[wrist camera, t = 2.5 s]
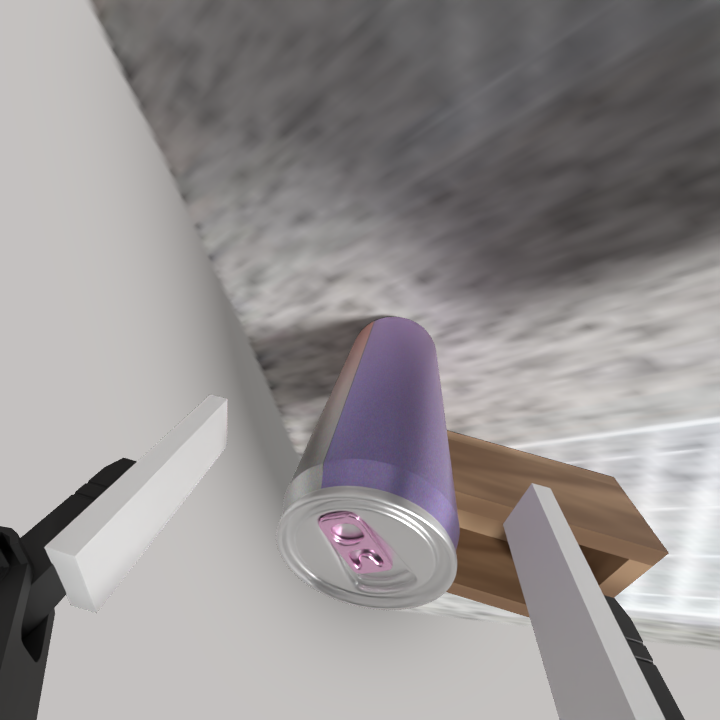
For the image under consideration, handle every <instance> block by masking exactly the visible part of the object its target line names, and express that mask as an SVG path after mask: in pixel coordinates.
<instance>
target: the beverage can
mask: <svg viewBox="0 0 720 720" xmlns="http://www.w3.org/2000/svg"><path fill="white" fill-rule="evenodd" d="M459 535H460V527H459V519H458V512H457V504H456V497H455V489H454V482H453V474H452V467H451V459H450V452H449V444H448V437H447V429H446V422H445V414H444V407H443V399H442V392H441V384H440V377H439V369H438V362H437V354H436V348H435V344H434V342H433V340H432V338H431V336H430V335H429V333H428V332H427V331H426V330H425V329H424V328H423V327H422V326H420V325H419V324H417V323H416V322H414V321H411V320H409V319H406V318H401V317H386V318H381V319H378V320H375V321H373V322H372V323H370V324H368V325H367V326H366V327H365V328H363V329H362V331H361V332H360V333H359V334H358V336H357V338H356V340H355V342H354V344H353V346H352V349H351V351H350V353H349V355H348V357H347V360H346V362H345V364H344V366H343V368H342V370H341V373H340V375H339V377H338V379H337V381H336V384H335V386H334V388H333V390H332V392H331V395H330V397H329V399H328V401H327V403H326V406H325V408H324V410H323V412H322V414H321V416H320V419H319V421H318V423H317V425H316V427H315V430H314V432H313V434H312V436H311V438H310V441H309V443H308V445H307V447H306V449H305V452H304V454H303V456H302V458H301V460H300V462H299V465H298V467H297V469H296V471H295V473H294V476H293V478H292V480H291V482H290V484H289V487H288V489H287V491H286V494H285V497H284V503H283V515H282V517H281V519H280V521H279V524H278V527H277V533H276V541H277V547H278V550H279V552H280V555H281V557H282V559H283V560H284V562H285V563H286V565H287V566H288V567H289V569H290V570H291V571H292V572H293V573H294V574H295V575H296V576H297V577H298V578H299V579H301V580H302V581H303V582H304V583H306V584H307V585H309V586H310V587H312V588H313V589H315V590H316V591H318V592H320V593H322V594H324V595H326V596H328V597H331V598H333V599H335V600H338V601H341V602H344V603H347V604H350V605H354V606H359V607H364V608H370V609H379V610H401V609H409V608H414V607H418V606H422V605H424V604H427V603H429V602H432V601H434V600H436V599H437V598H439V597H440V596H442V595H443V594H444V593H445V592H446V591H447V590H448V589H449V588H450V586H451V585H452V583H453V581H454V579H455V576H456V572H457V555H456V549H457V545H458V541H459Z"/></svg>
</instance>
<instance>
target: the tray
mask: <svg viewBox="0 0 720 720" xmlns="http://www.w3.org/2000/svg"><path fill="white" fill-rule="evenodd" d="M447 437H448V444H449V452H450V459H451V467H452V474H453V482H454V489H455V497H456V504H457V512H458V519H459V527H460V535H459V541H458V545H457V549H456V555H457V572H456V576H455V579H454V581H453V583H452V585H451V586H450V588H449V589H448V590H447V591H446V592H448V593H451V594H455V595H458V596H461V597H465V598H468V599H471V600H474V601H478V602H481V603H484V604H487V605H491V606H494V607H497V608H500V609H504V610H507V611H510V612H513V613H517V614H520V615H523V616H527V617H530V616H529V612H528V609H527V606H526V602H525V599H524V595H523V592H522V588H521V585H520V581H519V578H518V575H517V571H516V568H515V564H514V561H513V557H512V554H511V550H510V547H509V544H508V540H507V537H506V533H505V530H504V526H503V523H504V522H505V521H506V519H507V518H508V516H509V515H510V513H511V512H512V511H513V509H514V508H515V506H516V505H517V503H518V502H519V501H520V499H521V498H522V496H523V495H524V494H525V492H526V491H527V489H528V488H529V486H530V485H531V484H532V483H533V484H537V485H541V486H544V487H548V488H550V489H551V491H552V493H553V495H554V497H555V499H556V501H557V503H558V505H559V507H560V509H561V511H562V513H563V515H564V517H565V519H566V521H567V523H568V525H569V527H570V529H571V531H572V533H573V535H574V537H575V539H576V541H577V543H578V545H579V547H580V549H581V551H582V553H583V555H584V557H585V559H586V561H587V563H588V565H589V567H590V569H591V571H592V573H593V575H594V577H595V579H596V581H597V583H598V585H599V587H600V589H601V591H602V593H603V595H605V596H609V597H612V598H614V597H615V596H616V595H618V594H619V593H620V592H621V591H623V590H624V589H625V588H626V587H628V586H629V585H630V584H631V583H633V582H634V581H635V580H636V579H637V578H639V577H640V576H641V575H642V574H644V573H645V572H646V571H647V570H649V569H650V568H651V567H652V566H654V565H655V564H656V563H657V562H659V561H660V560H661V559H662V558H663V557H665V556H666V555H667V554H668V551H667V550H666V548H665V547H664V546H663V544H662V543H661V542H660V540H659V539H658V537H657V536H656V535H655V533H654V532H653V531H652V529H651V528H650V526H649V525H648V524H647V522H646V521H645V520H644V518H643V517H642V515H641V514H640V513H639V511H638V510H637V509H636V507H635V506H634V504H633V503H632V502H631V500H630V499H629V498H628V496H627V495H626V493H625V492H624V491H623V489H622V488H621V486H620V485H619V484H618V482H617V481H616V480H615V478H614V477H611V476H607V475H604V474H600V473H597V472H593V471H590V470H586V469H582V468H579V467H575V466H572V465H568V464H565V463H561V462H558V461H554V460H550V459H547V458H543V457H540V456H536V455H533V454H529V453H526V452H522V451H519V450H515V449H511V448H508V447H504V446H501V445H497V444H494V443H490V442H487V441H483V440H479V439H476V438H472V437H469V436H465V435H462V434H458V433H455V432H451V431H447Z"/></svg>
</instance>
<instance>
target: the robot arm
mask: <svg viewBox="0 0 720 720" xmlns="http://www.w3.org/2000/svg"><path fill="white" fill-rule="evenodd" d="M227 400H228V399H227V398H223V397H219V396H216V395H212V394H210V395H209V396H208V397H207V398H206V399H205V400H203V401H202V402H201V403H200V404H199V405H198V406H197V407H196V408H195V409H194V410H193V411H192V412H190V413H189V414H188V415H187V416H186V417H185V418H184V419H183V420H182V421H181V422H180V423H178V425H176V426H175V427H174V428H173V429H172V430H171V431H170V432H169V433H168V434H167V435H165V436H164V437H163V438H162V439H161V440H160V441H159V442H158V443H157V444H156V445H155V446H153V448H151V449H150V450H149V451H148V452H147V453H146V454H145V455H144V456H143V457H142V458H140V459H139V460H138V461H137V462H136V461H133V460H130V459H126V458H122V459H120V460H118V461H116V462H114V463H112V464H110V465H108V466H106V467H104V468H103V469H102V470H101V471H100V472H98V473H97V474H96V475H95V476H94V477H93V478H91V479H90V480H89V482H88V483H87V484H84V485H83V486H82V487H81V488H79V489H78V490H77V491H76V492H75V494H74V495H71V496H70V497H69V498H68V499H66V500H65V501H64V502H63V503H62V504H60V505H59V506H58V507H57V508H56V509H55V510H53V511H52V512H51V513H50V514H48V515H47V516H46V517H45V518H44V519H43V520H41V521H40V522H39V523H38V524H37V525H35V526H34V527H33V528H32V529H31V530H30V531H28V532H27V533H26V534H25V535H24V536H22V537H21V538H20V537H19V535H18V534H17V533H16V532H15V531H14V530H13V529H12V528H7V527H1V526H0V720H36V719H37V714H38V708H39V701H40V696H41V691H42V685H43V679H44V673H45V668H46V662H47V656H48V650H49V644H50V639H51V633H52V627H53V621H54V616H55V610H54V607H55V606H56V605H57V604H58V603H59V602H60V601H61V600H62V598H63V597H64V596H65V595H66V596H67V598H68V600H69V603H70V605H72V606H75V607H78V608H82V609H85V610H88V611H91V612H95V613H97V612H98V611H99V610H100V608H101V607H102V606H103V604H104V603H105V602H106V600H107V599H108V598H109V597H110V595H111V594H112V593H113V592H114V590H115V589H116V588H117V586H118V585H119V584H120V583H121V581H122V580H123V579H124V577H125V576H126V575H127V574H128V572H129V571H130V570H131V568H132V567H133V566H134V564H135V563H136V562H137V561H138V559H139V558H140V557H141V556H142V554H143V553H144V552H145V550H146V549H147V548H148V546H149V545H150V544H151V543H152V541H153V540H154V539H155V538H156V536H157V535H158V534H159V533H160V531H161V530H162V529H163V527H164V526H165V525H166V524H167V522H168V521H169V520H170V518H171V517H172V516H173V515H174V513H175V512H176V511H177V509H178V508H179V507H180V506H181V504H182V503H183V502H184V500H185V499H186V498H187V496H188V495H189V494H190V493H191V491H192V490H193V489H194V488H195V486H196V485H197V484H198V482H199V481H200V480H201V479H202V477H203V476H204V475H205V473H206V472H207V471H208V470H209V468H210V467H211V466H212V464H213V463H214V462H215V461H216V459H217V458H218V457H219V455H220V454H221V453H222V452H223V450H224V449H225V448H226V446H227V402H228V401H227ZM503 526H504V530H505V533H506V537H507V540H508V544H509V547H510V550H511V554H512V557H513V561H514V564H515V568H516V571H517V575H518V578H519V581H520V585H521V588H522V592H523V595H524V599H525V602H526V606H527V609H528V612H529V616H530V619H531V623H532V626H533V630H534V633H535V636H536V640H537V643H538V647H539V650H540V653H541V657H542V661H543V664H544V667H545V671H546V674H547V678H548V681H549V685H550V688H551V692H552V695H553V699H554V702H555V705H556V709H557V712H558V715H559V719H560V720H685V719H684V717H683V715H682V714H681V712H680V710H679V708H678V706H677V704H676V702H675V700H674V699H673V697H672V695H671V693H670V691H669V689H668V687H667V686H666V684H665V682H664V680H663V678H662V676H661V674H660V672H659V671H658V669H657V667H656V666H655V665H654V664H653V659H652V658H651V656H650V654H649V652H648V650H647V648H646V646H644V645H643V641H642V639H641V637H640V635H639V633H638V631H637V629H636V628H635V626H634V624H633V622H632V620H631V619H630V617H629V616H628V615H627V613H626V612H625V611H624V610H623V608H622V607H621V606H620V605H619V603H618V602H617V601H616V600H615V598H612V597H609V596H605V595H603V593H602V591H601V589H600V587H599V585H598V583H597V581H596V579H595V577H594V575H593V573H592V571H591V569H590V567H589V565H588V563H587V561H586V559H585V557H584V555H583V553H582V551H581V549H580V547H579V545H578V543H577V541H576V539H575V537H574V535H573V533H572V531H571V529H570V527H569V525H568V523H567V521H566V519H565V517H564V515H563V513H562V511H561V509H560V507H559V505H558V503H557V501H556V499H555V497H554V495H553V493H552V491H551V489H550V488H548V487H544V486H541V485H537V484H533V483H532V484H531V485H530V486H529V488H528V489H527V491H526V492H525V494H524V495H523V496H522V498H521V499H520V501H519V502H518V503H517V505H516V506H515V508H514V509H513V511H512V512H511V513H510V515H509V516H508V518H507V519H506V521H505V522H504V523H503Z"/></svg>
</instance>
